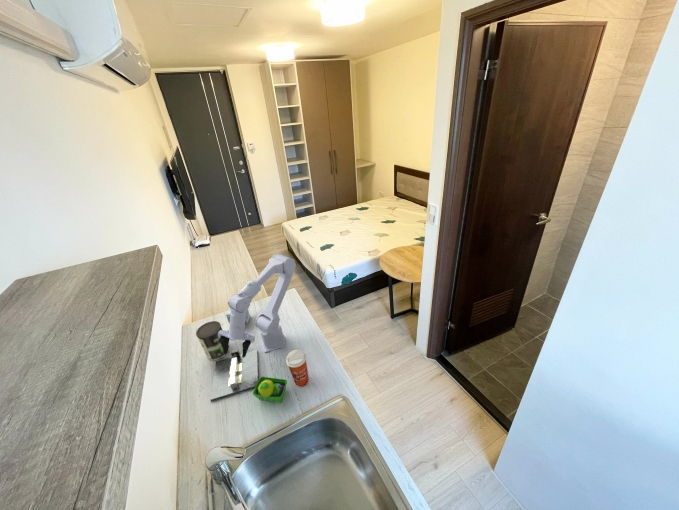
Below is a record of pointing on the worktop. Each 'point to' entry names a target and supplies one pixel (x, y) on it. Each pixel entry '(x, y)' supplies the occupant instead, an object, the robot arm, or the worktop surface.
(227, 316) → the light bulb box
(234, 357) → the swing bar
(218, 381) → the chassis tray
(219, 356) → the coffee can
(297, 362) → the paper cup
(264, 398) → the fruit basket
